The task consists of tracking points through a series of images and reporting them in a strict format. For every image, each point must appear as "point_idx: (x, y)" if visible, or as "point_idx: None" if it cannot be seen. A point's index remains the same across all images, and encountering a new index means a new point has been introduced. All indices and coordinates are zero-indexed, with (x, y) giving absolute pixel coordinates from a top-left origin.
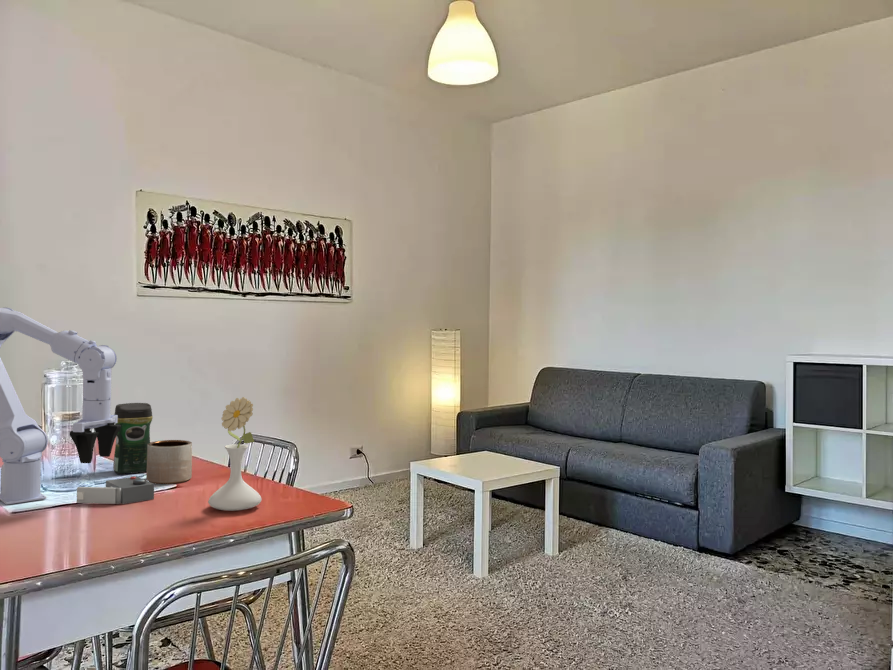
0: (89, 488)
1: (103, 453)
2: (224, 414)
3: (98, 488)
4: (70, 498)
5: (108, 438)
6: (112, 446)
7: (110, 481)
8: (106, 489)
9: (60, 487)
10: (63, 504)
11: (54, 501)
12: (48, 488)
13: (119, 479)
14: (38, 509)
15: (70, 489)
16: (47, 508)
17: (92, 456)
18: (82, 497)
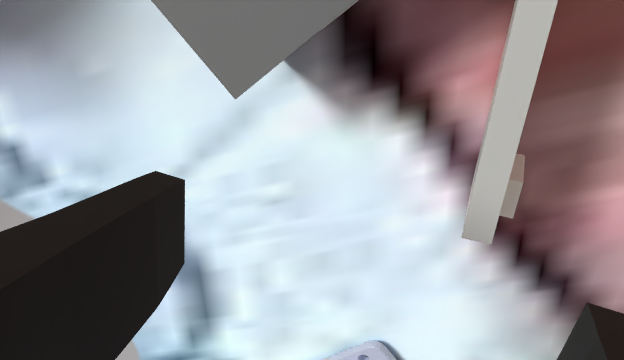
0: (515, 155)
1: (163, 252)
2: None
3: (533, 82)
4: (351, 237)
5: (3, 350)
6: (58, 212)
7: (257, 56)
8: (555, 3)
9: None
10: (500, 246)
11: (418, 298)
12: (164, 351)
13: (181, 4)
14: None
15: None
16: None
17: (609, 355)
18: (522, 166)
